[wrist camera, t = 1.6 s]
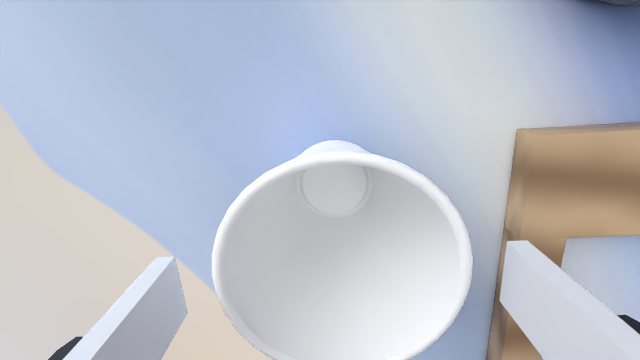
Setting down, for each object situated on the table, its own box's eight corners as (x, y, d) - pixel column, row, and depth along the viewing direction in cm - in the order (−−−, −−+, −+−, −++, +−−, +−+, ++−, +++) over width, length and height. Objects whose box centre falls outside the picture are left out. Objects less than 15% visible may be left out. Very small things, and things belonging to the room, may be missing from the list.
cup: (252, 230, 24) (197, 354, 14) (276, 94, 21) (227, 122, 11) (383, 257, 25) (425, 395, 14) (426, 128, 22) (518, 187, 11)
